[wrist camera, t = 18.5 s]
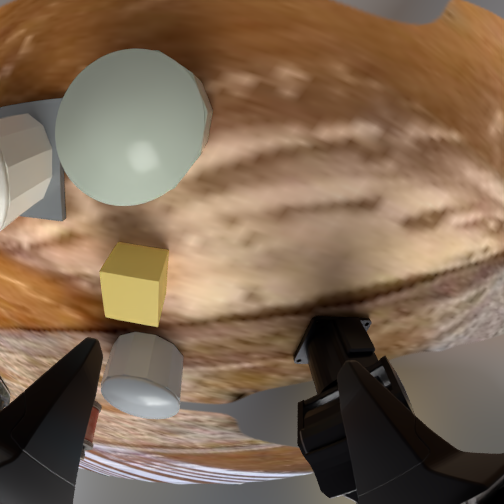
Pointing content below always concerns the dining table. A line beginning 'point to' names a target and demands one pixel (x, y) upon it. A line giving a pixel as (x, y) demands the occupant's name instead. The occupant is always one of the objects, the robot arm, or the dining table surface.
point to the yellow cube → (134, 283)
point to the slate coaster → (55, 195)
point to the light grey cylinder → (144, 376)
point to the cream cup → (22, 165)
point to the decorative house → (4, 396)
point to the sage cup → (132, 126)
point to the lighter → (90, 429)
